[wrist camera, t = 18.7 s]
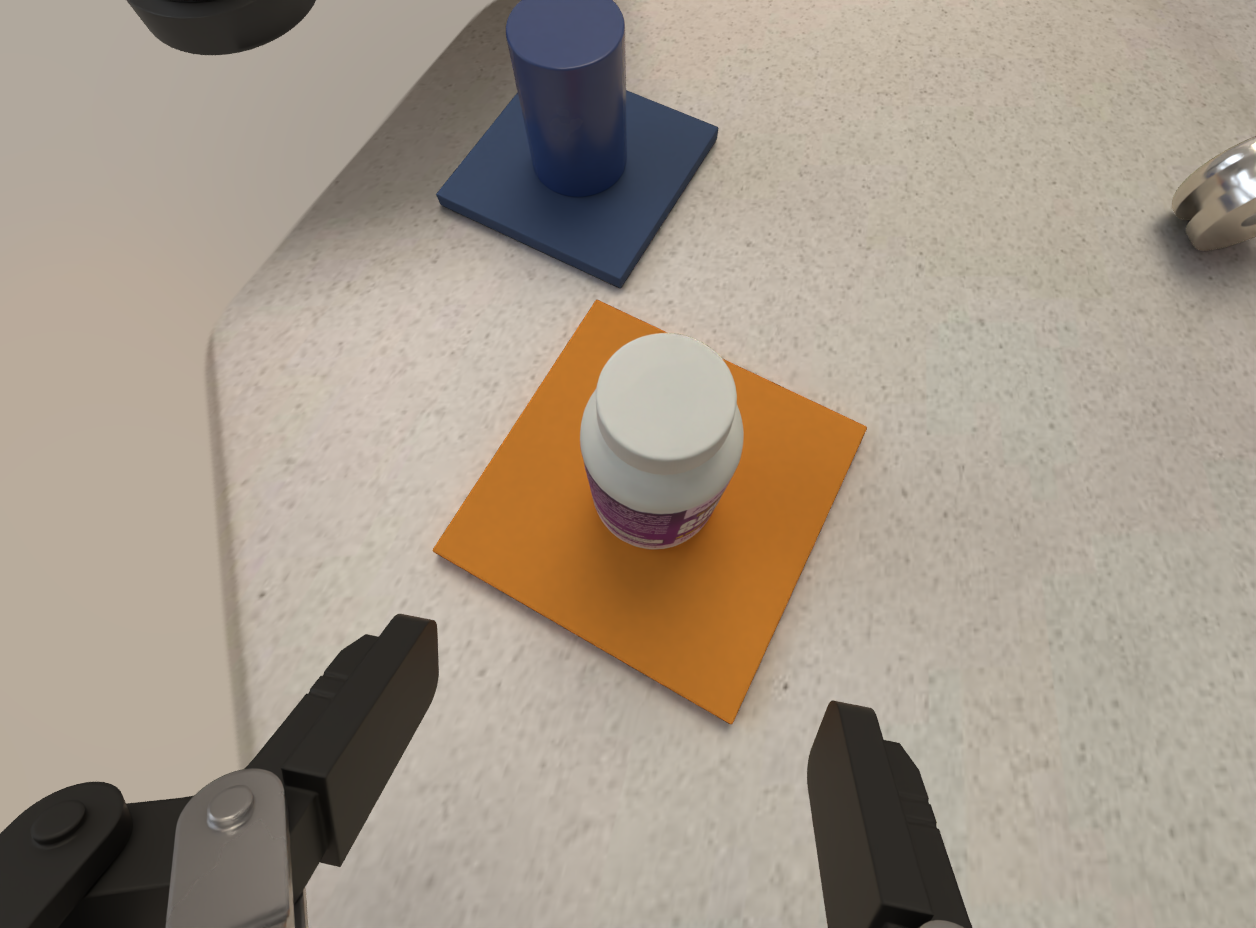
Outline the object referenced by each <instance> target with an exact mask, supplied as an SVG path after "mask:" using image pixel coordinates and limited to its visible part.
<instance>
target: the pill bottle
mask: <svg viewBox="0 0 1256 928" xmlns="http://www.w3.org/2000/svg"><path fill="white" fill-rule="evenodd" d="M743 438H744V432H743V423H742V418H741V414H740V411H739V408H738V406H737V393H736V386H735V382H734V379H733V376H732V374H731V372H730V370H729V368H728V367H727V365H726V363H725V362H724V361H723V359H722V358H721V357H720V356H719V355H718V354H717V353H716V352H715V351H714V350H712V349H711V348H710V347H709V346H707V345H705V344H704V343H702V342H700V341H698V340H695V339H693V338H691V337H689V336H685V335H681V334H675V333H658V334H651V335H646V336H643V337H640V338H637V339H635V340H633V341H631V342H629V343H627V344H625V345H624V346H622V347H621V348H620V349H619V350H618V351H616V352H615V353H614V354H613V355H612V356H611V358H610V359H609V360H608V361H607V363H606V364H605V366H604V367H603V369H602V371H601V373H600V376H599V379H598V383H597V387H596V389H595V391H594V392H593V394H592V395H591V397H590V399H589V401H588V403H587V405H586V407H585V410H584V413H583V417H582V422H581V429H580V447H581V453H582V457H583V460H584V465H585V470H586V473H587V477H588V481H589V485H590V489H591V494H592V498H593V501H594V505H595V508H596V510H597V512H598V515H599V517H600V518H601V520H602V522H603V523H604V524H605V526H606V527H607V528H608V529H609V530H610V531H611V533H613V534H614V535H615V536H616V537H618V538H619V539H621V540H622V541H624V542H626V543H629V544H631V545H633V546H636V547H640V548H645V549H665V548H670V547H674V546H676V545H679V544H681V543H683V542H685V541H687V540H688V539H690V538H691V537H693V536H694V535H695V534H696V533H698V532H699V531H700V530H701V528H702V527H703V526H704V525H705V524H706V522H707V521H708V519H709V518H710V516H711V514H712V513H713V511H714V509H715V507H716V506H717V504H718V502H719V500H720V498H721V496H722V495H723V493H724V491H725V489H726V488H727V486H728V484H729V482H730V480H731V478H732V477H733V475H734V472H735V470H736V468H737V466H738V464H739V461H740V458H741V453H742V448H743Z"/></svg>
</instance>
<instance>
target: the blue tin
mask: <svg viewBox="0 0 1256 928" xmlns="http://www.w3.org/2000/svg"><path fill="white" fill-rule="evenodd" d="M506 38H507V42H508V47H509V52H510V57H511V62H512V66H513V71H514V76H515V81H516V86H517V91H518V95H519V100H520V105H521V110H522V115H523V120H524V124H525V129H526V134H527V139H528V144H529V149H530V153H531V158H532V163H533V168H534V171H535V173H536V175H537V177H538V179H539V180H540V181H541V182H542V183H543V184H544V185H545V186H546V187H547V188H549V189H550V190H552V191H554V192H556V193H559V194H561V195H565V196H571V197H586V196H592V195H595V194H598V193H601V192H603V191H605V190H607V189H608V188H610V187H611V186H613V185H614V184H615V183H616V182H617V181H618V180H619V178H620V177H621V176H622V174H623V172H624V170H625V167H626V163H627V124H626V63H625V23H624V18H623V15H622V13H621V11H620V9H619V7H618V6H617V5H616V3H615V2H614V1H613V0H521V1H520V2H519V3H518V4H517V5H516V6H515V7H514V9H513V10H512V11H511V13H510V15H509V17H508V20H507V24H506Z"/></svg>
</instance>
